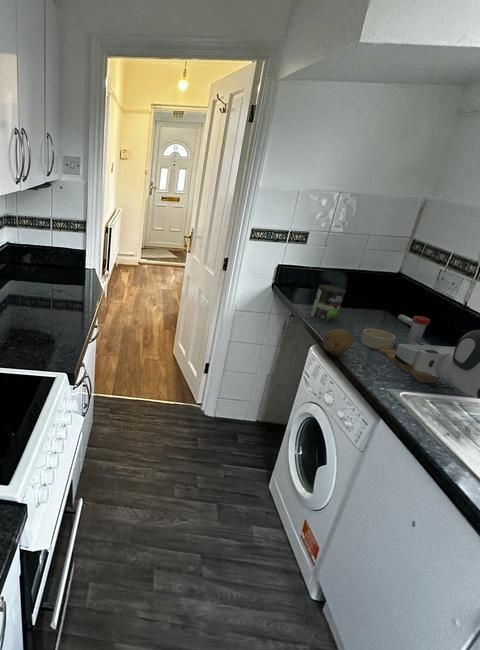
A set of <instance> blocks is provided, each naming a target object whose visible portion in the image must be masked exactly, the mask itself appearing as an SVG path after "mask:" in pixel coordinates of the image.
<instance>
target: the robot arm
mask: <svg viewBox="0 0 480 650" xmlns="http://www.w3.org/2000/svg"><path fill="white" fill-rule="evenodd" d="M395 351H396V355H397V356H398V357H399V358H401V359H402V360H403V361H405V362H406V363H408V364H410V365H413V366H414V367H413V368H414V369H415V370H417V371H421V372H425V373H429V374H431V375H432V376H436V377H440V378H441V379H443V380H445V381H446V382H450V383H451V384H452V385H453V386H454V387H455V388H457V389H458V390H460V391H461V392H463V393H464V394H466V395H469V396H471V397H473V398H474V399H475V398H476V399H480V329H474V330H471V331H468V332H466V333H465V334H463V336H462V337H461V338H459V340H458V342H457V344H456V346H447V345H431V344H427V343H424V342H423V341H420V342H412V344H405V343H399V344H398V345H397V347H396V349H395Z"/></svg>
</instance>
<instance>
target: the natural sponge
mask: <svg viewBox="0 0 480 650" xmlns="http://www.w3.org/2000/svg"><path fill="white" fill-rule="evenodd" d="M353 340H354V339H353V336H352V334H351V333H350V332H349V331H348V330H346V329H343V328H334V329H331V330H329V331H327V332H326V333H325V334H324V336H323V337H322V342H321V344H322V346H323V348H324V349H325V350H326V351H327V352H329V354H330V355H332V356H341V355H343V354H345V353H346V352H347V351H348V350H350V349H351V348H352V346H353V343H354V341H353Z"/></svg>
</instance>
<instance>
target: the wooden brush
mask: <svg viewBox="0 0 480 650" xmlns="http://www.w3.org/2000/svg"><path fill="white" fill-rule="evenodd" d="M377 352H379V354H381V355H382V356H384V357H385V358H386V359H388V360H389V361H390V362H392V363H393V364H394V365H395V366H397V367H398V368H400V369H401V370H402V371H404V372H405V373H407V375H409V376H411V377H412V378H414V379H415V380H417V382H419V383H425V384H426V383H427V384H437V381H438V378H437V377H435V375H433V374H430V373H425V372H421V371H417V370H415V369H414V368H413V367H414V366H413V365H408V364H402V363H400V362H399V361H397V360H396V359H395V358H394V357H395V355H396V349H394V348H392V349H386V348H379V349H377Z"/></svg>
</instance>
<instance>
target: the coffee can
mask: <svg viewBox="0 0 480 650" xmlns="http://www.w3.org/2000/svg"><path fill="white" fill-rule="evenodd" d="M346 293H347V290H346V289H345V288H343V287H340V286H337V285H332V284H319V285H318V289H317V293H316V296H315V299H314V302H313V305H312V309H311V312H310V314H309V315H310V316H311V317H312V318H313V319H315V320H318V321H321V322H327V323H328V322H331V323H332V322H335V321H336V319H337V318H338V314H339V311H340V309H341V305H342V303H343V299H344V297H345V294H346Z"/></svg>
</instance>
